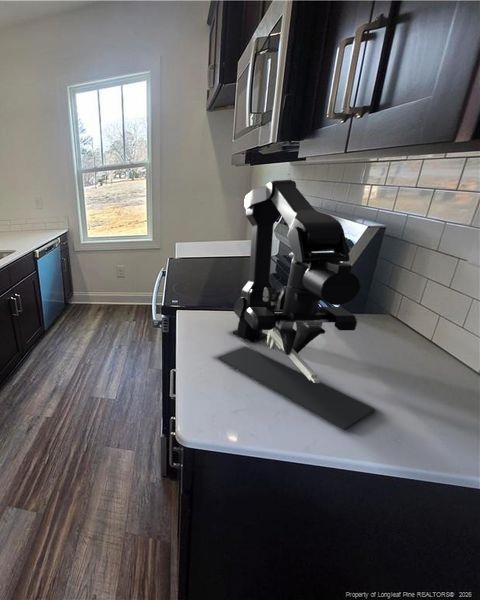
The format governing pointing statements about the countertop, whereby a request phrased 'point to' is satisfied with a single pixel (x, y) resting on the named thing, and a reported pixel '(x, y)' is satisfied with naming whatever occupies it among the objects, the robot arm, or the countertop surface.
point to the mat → (299, 387)
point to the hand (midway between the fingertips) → (290, 354)
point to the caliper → (291, 355)
